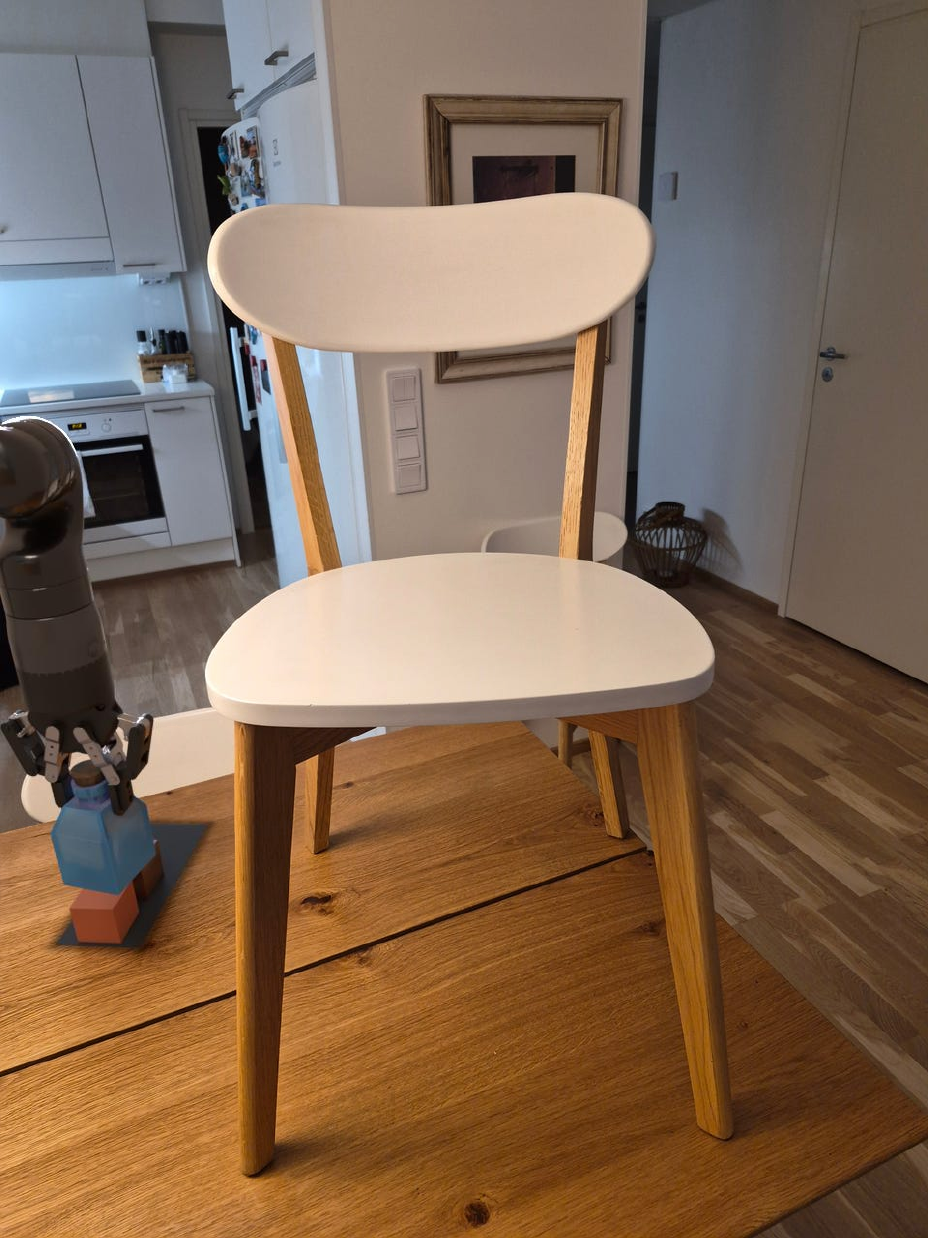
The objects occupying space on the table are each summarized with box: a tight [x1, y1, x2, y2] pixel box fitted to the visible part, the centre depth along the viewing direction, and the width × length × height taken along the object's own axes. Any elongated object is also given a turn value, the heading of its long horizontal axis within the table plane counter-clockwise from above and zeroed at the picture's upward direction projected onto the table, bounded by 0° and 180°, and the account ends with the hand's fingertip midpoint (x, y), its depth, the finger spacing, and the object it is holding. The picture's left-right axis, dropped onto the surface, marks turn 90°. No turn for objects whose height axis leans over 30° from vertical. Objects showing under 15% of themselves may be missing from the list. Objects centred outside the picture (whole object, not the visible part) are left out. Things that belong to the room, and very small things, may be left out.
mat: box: [55, 823, 208, 949], centre depth 102 cm, size 10×22×6 cm, turn 176°
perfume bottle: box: [49, 758, 156, 895], centre depth 80 cm, size 6×6×12 cm
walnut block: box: [132, 840, 164, 899], centre depth 101 cm, size 5×5×5 cm
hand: (96, 808), depth 80 cm, fingers closed on perfume bottle, 4 cm apart
